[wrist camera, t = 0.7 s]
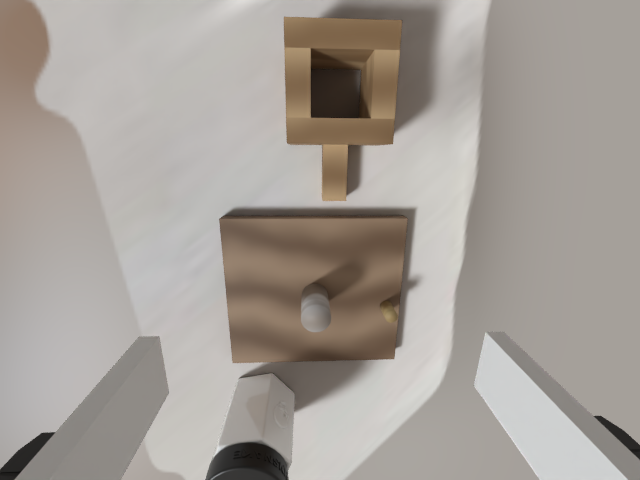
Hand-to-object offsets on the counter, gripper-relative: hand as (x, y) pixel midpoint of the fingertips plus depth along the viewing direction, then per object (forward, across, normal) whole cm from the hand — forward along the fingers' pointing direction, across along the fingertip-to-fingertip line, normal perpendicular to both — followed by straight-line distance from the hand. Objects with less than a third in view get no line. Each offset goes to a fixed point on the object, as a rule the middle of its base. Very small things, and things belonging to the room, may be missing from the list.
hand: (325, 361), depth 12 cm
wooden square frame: (+22, +2, +10) cm, 25 cm away
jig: (+22, 0, -8) cm, 23 cm away
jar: (+22, -7, -24) cm, 33 cm away
